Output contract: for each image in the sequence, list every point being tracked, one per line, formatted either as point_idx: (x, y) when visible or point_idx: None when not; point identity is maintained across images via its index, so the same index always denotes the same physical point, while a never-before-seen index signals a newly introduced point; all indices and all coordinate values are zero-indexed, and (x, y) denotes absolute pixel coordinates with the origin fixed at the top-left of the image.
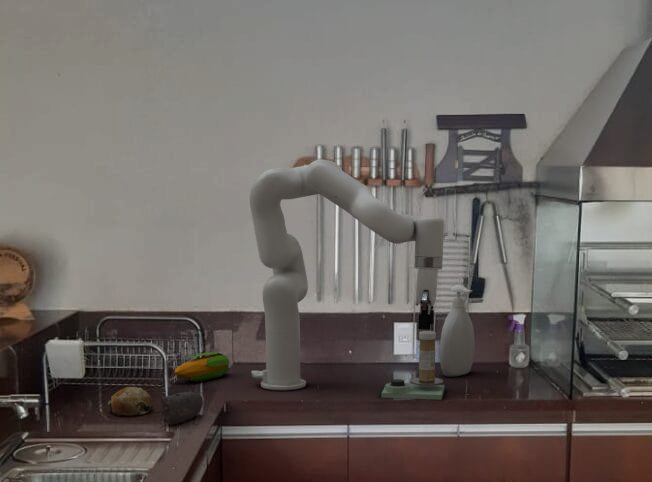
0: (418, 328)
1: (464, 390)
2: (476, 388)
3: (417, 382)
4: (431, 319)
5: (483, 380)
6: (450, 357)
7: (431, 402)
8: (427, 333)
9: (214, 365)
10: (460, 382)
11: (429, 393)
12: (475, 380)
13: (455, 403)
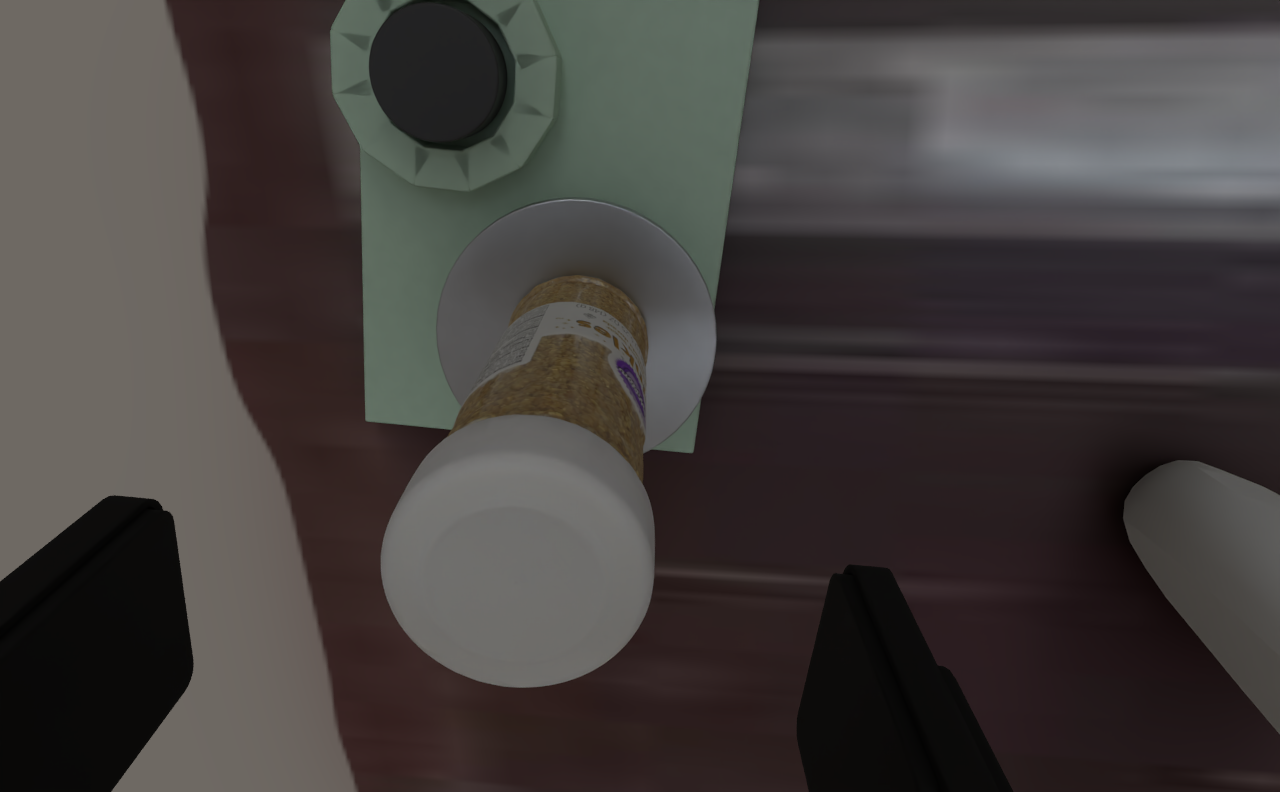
0: (112, 496)
1: (686, 562)
2: (748, 633)
3: (489, 260)
4: (814, 778)
5: (990, 687)
6: (1191, 586)
7: (293, 338)
8: (385, 579)
9: None
10: (941, 552)
11: (391, 338)
12: (996, 643)
13: (297, 489)
